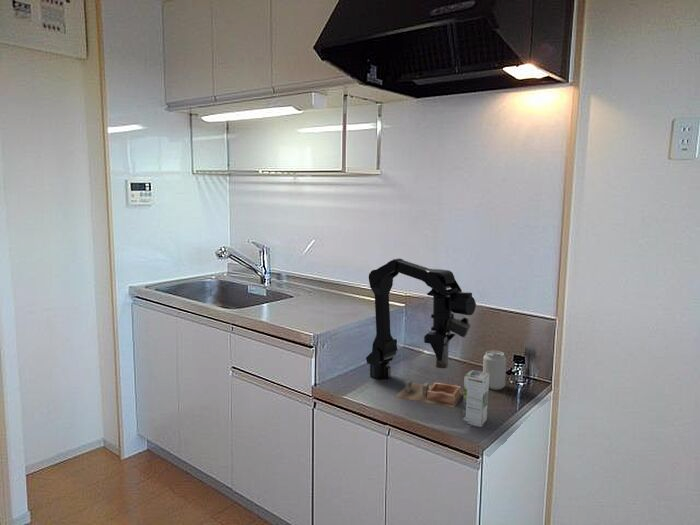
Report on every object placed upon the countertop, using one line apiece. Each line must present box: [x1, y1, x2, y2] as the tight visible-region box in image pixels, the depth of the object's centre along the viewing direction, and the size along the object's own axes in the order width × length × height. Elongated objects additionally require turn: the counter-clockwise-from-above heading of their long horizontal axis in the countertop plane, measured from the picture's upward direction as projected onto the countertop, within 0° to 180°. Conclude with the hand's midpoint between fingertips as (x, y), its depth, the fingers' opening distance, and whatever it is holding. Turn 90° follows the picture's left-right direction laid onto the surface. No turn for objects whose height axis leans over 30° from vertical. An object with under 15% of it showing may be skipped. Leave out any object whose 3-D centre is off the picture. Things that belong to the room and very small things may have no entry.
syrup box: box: [461, 369, 490, 428], centre depth 150 cm, size 6×6×14 cm
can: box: [482, 350, 507, 391], centre depth 177 cm, size 8×8×12 cm
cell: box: [435, 338, 450, 369], centre depth 165 cm, size 4×4×10 cm
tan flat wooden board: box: [395, 379, 464, 408], centre depth 168 cm, size 19×14×4 cm
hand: (441, 358), depth 165 cm, fingers closed on cell, 4 cm apart
